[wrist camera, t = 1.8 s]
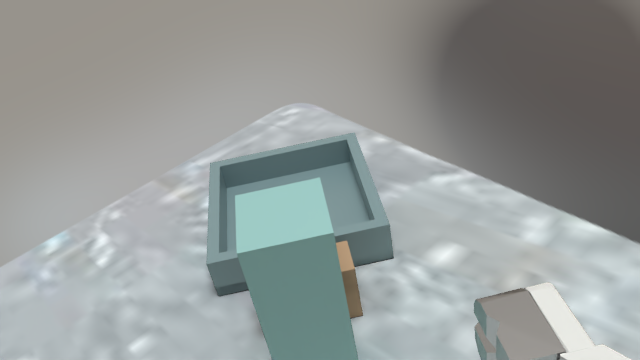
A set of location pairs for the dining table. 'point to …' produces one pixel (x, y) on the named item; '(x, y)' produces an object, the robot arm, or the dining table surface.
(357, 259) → the tray
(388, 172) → the dining table surface
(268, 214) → the peg
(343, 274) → the brown rectangular block
